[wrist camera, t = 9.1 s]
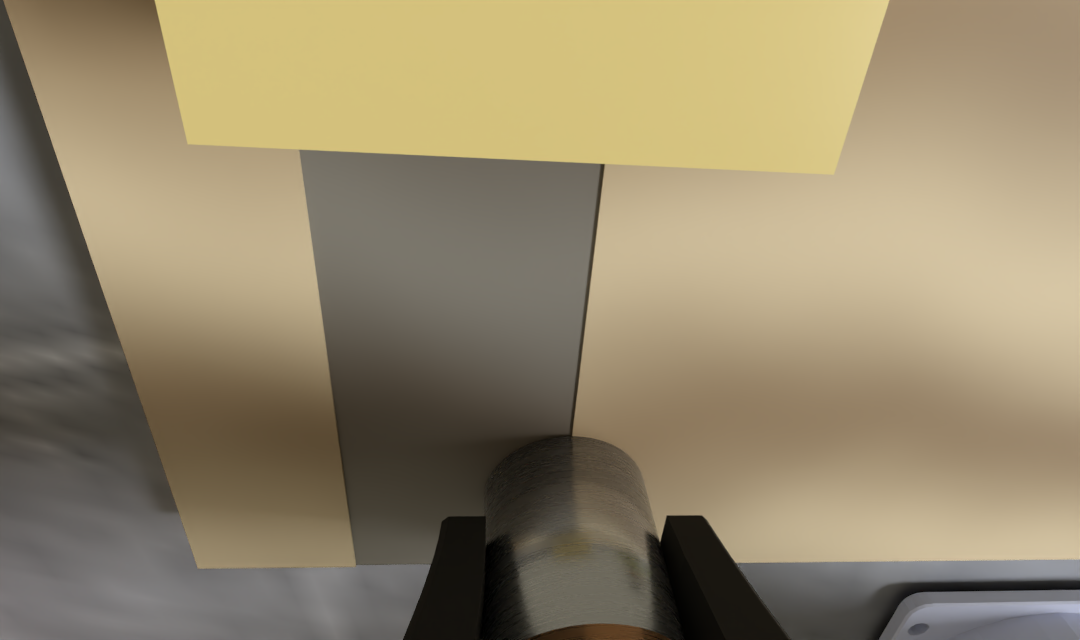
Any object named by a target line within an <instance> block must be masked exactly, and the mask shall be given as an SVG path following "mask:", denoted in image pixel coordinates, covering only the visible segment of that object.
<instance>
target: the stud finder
mask: <svg viewBox="0 0 1080 640" xmlns="http://www.w3.org/2000/svg"><path fill="white" fill-rule="evenodd" d="M888 3H889V0H155V4H156V9H157V13H158V17H159V22H160V26H161V30H162V35H163V39H164V43H165V48H166V52H167V56H168V61H169V65H170V70H171V74H172V78H173V83H174V87H175V91H176V96H177V100H178V104H179V109H180V113H181V117H182V122H183V126H184V131H185V135H186V139H187V144H193V145H214V146H235V147H256V148H277V149H299V150H320V151H341V152H362V153H383V154H405V155H426V156H447V157H468V158H489V159H511V160H532V161H553V162H574V163H595V164H617V165H638V166H659V167H680V168H701V169H723V170H744V171H765V172H786V173H807V174H829V175H834V173H835V170H836V167H837V163H838V160H839V157H840V154H841V151H842V148H843V145H844V141H845V138H846V135H847V132H848V129H849V126H850V123H851V120H852V116H853V113H854V110H855V107H856V104H857V101H858V98H859V94H860V91H861V88H862V85H863V82H864V79H865V76H866V72H867V69H868V66H869V63H870V60H871V57H872V54H873V50H874V47H875V44H876V41H877V38H878V35H879V32H880V28H881V25H882V22H883V19H884V16H885V13H886V10H887V6H888Z"/></svg>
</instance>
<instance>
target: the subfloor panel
mask: <svg viewBox="0 0 1080 640" xmlns="http://www.w3.org/2000/svg"><path fill="white" fill-rule="evenodd" d="M3 1H4V4H5V7H6V10H7V13H8V16H9V19H10V22H11V25H12V28H13V31H14V33H15V36H16V39H17V42H18V45H19V48H20V51H21V54H22V57H23V60H24V63H25V66H26V68H27V71H28V74H29V77H30V80H31V83H32V86H33V89H34V92H35V95H36V98H37V101H38V103H39V106H40V109H41V112H42V115H43V118H44V121H45V124H46V127H47V130H48V133H49V136H50V138H51V141H52V144H53V147H54V150H55V153H56V156H57V159H58V162H59V165H60V168H61V171H62V173H63V176H64V179H65V182H66V185H67V188H68V191H69V194H70V197H71V200H72V203H73V206H74V208H75V211H76V214H77V217H78V220H79V223H80V226H81V229H82V232H83V235H84V238H85V241H86V243H87V246H88V249H89V252H90V255H91V258H92V261H93V264H94V267H95V270H96V273H97V276H98V278H99V281H100V284H101V287H102V290H103V293H104V296H105V299H106V302H107V305H108V308H109V311H110V313H111V316H112V319H113V322H114V325H115V328H116V331H117V334H118V337H119V340H120V343H121V346H122V348H123V351H124V354H125V357H126V360H127V363H128V366H129V369H130V372H131V375H132V378H133V381H134V383H135V386H136V389H137V392H138V395H139V398H140V401H141V404H142V407H143V410H144V413H145V416H146V418H147V421H148V424H149V427H150V430H151V433H152V436H153V439H154V442H155V445H156V448H157V451H158V454H159V456H160V459H161V462H162V465H163V468H164V471H165V474H166V477H167V480H168V483H169V486H170V489H171V491H172V494H173V497H174V500H175V503H176V506H177V509H178V512H179V515H180V518H181V521H182V524H183V526H184V529H185V532H186V535H187V538H188V541H189V544H190V547H191V550H192V553H193V556H194V559H195V561H196V564H197V567H198V569H214V568H308V567H356V565H388V564H431V563H432V560H433V557H434V553H435V550H436V546H437V542H438V538H439V533H440V528H441V522H442V521H443V520H444V519H446V518H447V517H448V516H484V493H485V487H486V484H487V481H488V479H489V477H490V475H491V473H492V472H493V471H494V469H495V468H496V467H497V466H498V465H499V464H500V463H501V461H502V460H504V459H505V458H506V457H507V456H509V455H510V454H512V453H513V452H515V451H516V450H518V449H520V448H522V447H524V446H526V445H528V444H531V443H534V442H537V441H540V440H545V439H549V438H555V437H566V436H577V437H587V438H593V439H597V440H601V441H604V442H607V443H609V444H612V445H614V446H616V447H618V448H619V449H621V450H623V451H624V452H625V453H627V454H628V455H629V456H630V457H631V458H632V459H633V460H634V461H635V463H636V464H637V465H638V467H639V469H640V471H641V473H642V475H643V479H644V483H645V487H646V491H647V495H648V498H649V502H650V506H651V510H652V514H653V518H654V521H655V525H656V529H657V533H658V537H659V541H661V537H662V533H663V528H664V524H665V520H666V516H667V515H702V516H703V517H704V518H705V519H706V520H707V521H708V522H709V524H710V525H711V527H712V529H713V530H714V532H715V533H716V535H717V536H718V538H719V539H720V541H721V542H722V544H723V545H724V547H725V548H726V550H727V551H728V553H729V554H730V556H731V557H732V559H733V560H734V561H735V563H778V562H872V561H966V560H1060V559H1080V0H889V3H888V6H887V10H886V13H885V16H884V19H883V22H882V25H881V28H880V32H879V35H878V38H877V41H876V44H875V47H874V50H873V54H872V57H871V60H870V63H869V66H868V69H867V72H866V76H865V79H864V82H863V85H862V88H861V91H860V94H859V98H858V101H857V104H856V107H855V110H854V113H853V116H852V120H851V123H850V126H849V129H848V132H847V135H846V138H845V141H844V145H843V148H842V151H841V154H840V157H839V160H838V163H837V167H836V170H835V173H834V175H829V174H807V173H786V172H765V171H744V170H723V169H701V168H680V167H659V166H638V165H617V164H595V163H574V162H553V161H532V160H511V159H489V158H468V157H447V156H426V155H405V154H383V153H362V152H341V151H320V150H299V149H277V148H256V147H235V146H214V145H193V144H187V139H186V135H185V131H184V126H183V122H182V117H181V113H180V109H179V104H178V100H177V96H176V91H175V87H174V83H173V78H172V74H171V70H170V65H169V61H168V56H167V52H166V48H165V43H164V39H163V35H162V30H161V26H160V22H159V17H158V13H157V9H156V4H155V0H3Z"/></svg>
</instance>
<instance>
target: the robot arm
mask: <svg viewBox="0 0 1080 640" xmlns="http://www.w3.org/2000/svg"><path fill="white" fill-rule="evenodd" d="M660 545H661V548H662V552H663V556H664V560H665V564H666V568H667V571H668V575H669V579H670V583H671V587H672V591H673V594H674V598H675V602H676V606H677V610H678V614H679V618H680V621H681V625H682V629H683V633H684V637H685V640H791V639H790V637H789V636H788V635H787V633H786V632H785V631H784V629H783V628H782V627H781V625H780V624H779V623H778V622H777V620H776V619H775V618H774V616H773V615H772V614H771V612H770V611H769V610H768V608H767V607H766V605H765V604H764V603H763V601H762V600H761V599H760V597H759V596H758V594H757V593H756V592H755V590H754V589H753V587H752V586H751V584H750V583H749V582H748V580H747V579H746V577H745V576H744V575H743V573H742V572H741V570H740V569H739V567H738V566H737V564H736V563H735V561H734V560H733V559H732V557H731V556H730V554H729V553H728V551H727V550H726V548H725V547H724V545H723V544H722V542H721V541H720V539H719V538H718V536H717V535H716V533H715V532H714V530H713V529H712V527H711V525H710V524H709V522H708V521H707V520H706V519H705V518H704V517H703V516H702V515H667V516H666V520H665V524H664V528H663V533H662V537H661V541H660ZM485 559H486V516H448V517H447V518H446V519H444V520H443V521H442V522H441V528H440V533H439V538H438V542H437V546H436V550H435V553H434V557H433V560H432V563H431V567H430V570H429V573H428V576H427V579H426V582H425V584H424V587H423V590H422V593H421V596H420V599H419V601H418V604H417V606H416V609H415V611H414V614H413V616H412V619H411V621H410V624H409V626H408V629H407V631H406V634H405V636H404V639H403V640H482V622H483V609H484V593H485ZM879 640H1080V590H1024V591H957V592H920V593H915V594H912V595H910V596H908V597H906V598H905V599H904V600H903V601H902V602H901V603H900V604H899V606H898V608H897V609H896V611H895V613H894V615H893V616H892V618H891V620H890V621H889V623H888V625H887V626H886V628H885V630H884V631H883V633H882V635H881V636H880V638H879Z"/></svg>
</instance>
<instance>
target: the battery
mask: <svg viewBox="0 0 1080 640" xmlns="http://www.w3.org/2000/svg"><path fill="white" fill-rule="evenodd" d="M484 516H486V559H485V593H484V609H483V622H482V640H685V637H684V633H683V629H682V625H681V621H680V618H679V614H678V610H677V606H676V602H675V598H674V594H673V591H672V587H671V583H670V579H669V575H668V571H667V568H666V564H665V560H664V556H663V552H662V548H661V545H660V541H659V537H658V533H657V529H656V525H655V521H654V518H653V514H652V510H651V506H650V502H649V498H648V495H647V491H646V487H645V483H644V479H643V475H642V473H641V471H640V469H639V467H638V465H637V464H636V463H635V461H634V460H633V459H632V458H631V457H630V456H629V455H628V454H627V453H625V452H624V451H623V450H621V449H619V448H618V447H616V446H614V445H612V444H609V443H607V442H604V441H601V440H597V439H593V438H587V437H577V436H566V437H555V438H549V439H545V440H540V441H537V442H534V443H531V444H528V445H526V446H524V447H522V448H520V449H518V450H516V451H515V452H513V453H512V454H510V455H509V456H507V457H506V458H505V459H504V460H502V461H501V463H500V464H499V465H498V466H497V467H496V468H495V469H494V471H493V472H492V473H491V475H490V477H489V479H488V481H487V484H486V487H485V493H484Z"/></svg>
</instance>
